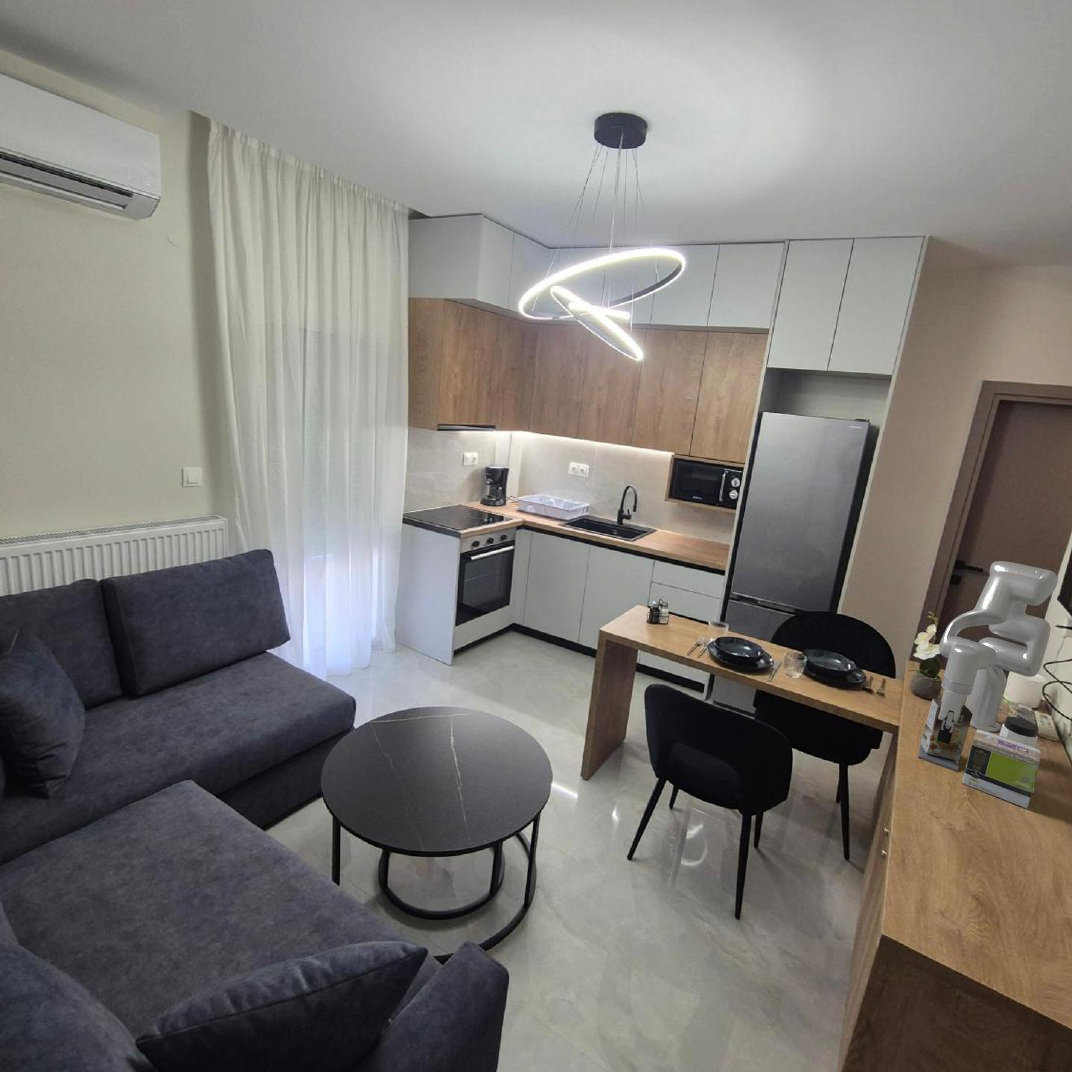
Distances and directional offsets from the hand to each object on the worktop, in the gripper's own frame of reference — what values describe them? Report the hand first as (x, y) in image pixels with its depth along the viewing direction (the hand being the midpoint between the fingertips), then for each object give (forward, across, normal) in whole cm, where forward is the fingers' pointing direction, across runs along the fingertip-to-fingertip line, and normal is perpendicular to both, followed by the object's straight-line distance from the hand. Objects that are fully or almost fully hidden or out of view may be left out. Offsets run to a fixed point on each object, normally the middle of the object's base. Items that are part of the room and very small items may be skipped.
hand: (943, 736), depth 178 cm
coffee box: (+6, 0, 0) cm, 6 cm away
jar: (+7, -19, +19) cm, 28 cm away
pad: (+7, 0, 0) cm, 7 cm away
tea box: (+7, +8, +14) cm, 18 cm away
